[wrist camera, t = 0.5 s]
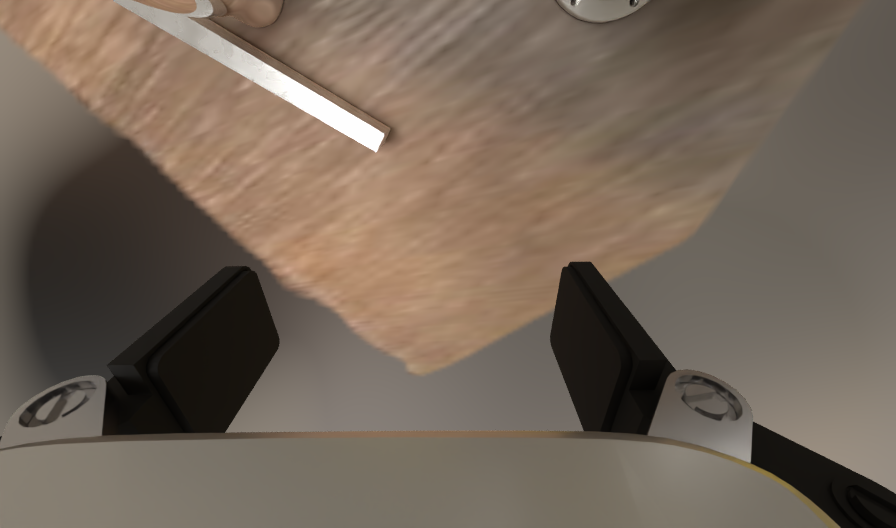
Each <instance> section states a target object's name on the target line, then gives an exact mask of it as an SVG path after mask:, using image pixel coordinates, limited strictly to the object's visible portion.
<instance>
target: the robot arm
mask: <svg viewBox="0 0 896 528" xmlns="http://www.w3.org/2000/svg"><path fill="white" fill-rule="evenodd" d="M556 1H557V2H558V3H559V5H560V6H561V7H562V8H563V9H564V10H565V11H567V12H568V13H569V14H570V15H572V16H574V17H576V18H578V19H580V20H583V21H587V22H595V23H604V22H608V21H613V20H617V19H619V18H622V17H625V16H627V15H629V14H631V13H633V12H635V11H637V10H638V9H640V8H641V7H642V6H643V5H645V4H646V3H647V2H648V1H650V0H631V1H632V5H631V6H630V5H629V1H630V0H574V1H575V3H574V5H573V6H572V5H571V3H570V2H571V0H556ZM550 342H551V346H552V349H553V352H554V354H555V357H556V360H557V362H558V365H559V367H560V370H561V372H562V375H563V378H564V380H565V383H566V385H567V388H568V391H569V393H570V396H571V399H572V401H573V404H574V406H575V409H576V412H577V414H578V417H579V419H580V422H581V425H582V427H583V430H584V431H334V432H331V431H328V432H247V433H246V432H241V433H225V432H226V430H227V429H228V427H229V425H230V424H231V422H232V421H233V419H234V418H235V416H236V414H237V413H238V411H239V410H240V408H241V406H242V405H243V403H244V402H245V400H246V398H247V397H248V395H249V394H250V392H251V391H252V389H253V388H254V386H255V384H256V383H257V381H258V380H259V378H260V377H261V375H262V373H263V372H264V370H265V369H266V367H267V366H268V364H269V362H270V361H271V359H272V357H273V356H274V354H275V353H276V351H277V350H278V347H279V336H278V333H277V330H276V328H275V325H274V322H273V319H272V316H271V313H270V310H269V307H268V304H267V302H266V299H265V296H264V293H263V290H262V287H261V285H260V282H259V279H258V276H257V274H256V273H255V271H251V269H250V268H249V267H247V266H228V267H224V268H223V269H222V270H220V271H219V272H218V273H217V274H216V275H214V276H213V277H212V278H211V279H210V280H208V281H207V282H206V283H205V284H204V285H202V286H201V287H200V288H199V289H198V290H196V291H195V292H194V293H193V294H192V295H190V296H189V297H188V298H187V299H186V300H184V301H183V302H182V303H181V304H180V305H178V306H177V307H176V308H175V309H174V310H172V311H171V312H170V313H169V314H168V315H166V316H165V317H164V318H163V319H162V320H161V321H159V322H158V323H157V324H156V325H154V326H153V327H152V328H151V329H150V330H148V331H147V332H146V333H145V334H144V335H142V336H141V337H140V338H139V339H138V340H136V341H135V342H134V343H133V344H132V345H131V346H129V347H128V348H127V349H126V350H125V351H123V352H122V353H121V354H120V355H119V356H117V357H116V358H115V359H114V360H112V361H111V362H110V363H109V364H108V365H107V367H108V368H109V369H110V371H111V372H112V374H113V375H114V377H113V378H111V379H110V380H109V381H108V382H107V381H106V380H105V379H104V378H102V377H100V376H93V375H89V376H83V377H77V378H74V379H71V380H68V381H65V382H62V383H60V384H58V385H55V386H53V387H50V388H48V389H47V390H45V391H43V392H42V393H39V394H38V395H36V396H34V397H33V398H32V399H30V400H29V401H27V402H26V403H24V404H23V405H22V406H21V407H20V408H19V409H18V410H17V411H16V412H15V413H14V414H13V415H12V416H11V418H10V419H9V421H8V422H7V425H6V428H5V430H4V433H3V435H2V436H1V437H0V528H896V494H895V493H894V492H892V491H890V490H888V489H887V488H885V487H883V486H881V485H879V484H878V483H876V482H874V481H872V480H870V479H868V478H866V477H864V476H862V475H860V474H858V473H856V472H854V471H852V470H850V469H848V468H846V467H844V466H842V465H840V464H838V463H836V462H834V461H832V460H830V459H828V458H826V457H824V456H822V455H820V454H818V453H816V452H813V451H811V450H809V449H808V448H805V447H803V446H801V445H799V444H797V443H795V442H793V441H791V440H789V439H787V438H785V437H783V436H781V435H779V434H777V433H775V432H773V431H771V430H769V429H767V428H765V427H763V426H761V425H759V424H757V423H755V422H753V415H752V410H751V407H750V405H749V404H748V403H747V401H746V399H745V398H744V397H743V396H742V395H741V394H740V393H739V392H738V391H737V390H736V389H734V388H733V387H731V386H730V385H729V384H727V383H726V382H724V381H722V380H720V379H718V378H716V377H714V376H712V375H709V374H706V373H703V372H700V371H695V370H677V371H676V370H675V368H674V367H673V366H672V365H671V363H670V362H669V361H668V359H667V358H666V357H665V356H664V354H663V353H662V352H661V350H660V349H659V348H658V347H657V345H656V344H655V343H654V342H653V340H652V339H651V338H650V336H649V335H648V334H647V333H646V331H645V330H644V329H643V327H642V326H641V325H640V324H639V323H638V321H637V320H636V319H635V317H634V316H633V315H632V314H631V312H630V311H629V310H628V308H627V307H626V306H625V305H624V303H623V302H622V301H621V300H620V298H619V297H618V296H617V295H616V293H615V292H614V291H613V290H612V288H611V287H610V286H609V284H608V283H607V282H606V280H605V279H604V278H603V277H602V275H601V274H600V273H599V271H598V270H597V269H596V268H595V266H594V265H593V264H592V263H591V262H570V263H569V265H568V267H563V269H562V272H561V278H560V283H559V289H558V295H557V300H556V306H555V312H554V318H553V323H552V329H551V335H550Z"/></svg>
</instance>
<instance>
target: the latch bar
mask: <svg viewBox="0 0 896 528" xmlns="http://www.w3.org/2000/svg"><path fill="white" fill-rule="evenodd" d="M113 1H114V2H116V3H118V4H119V5H121V6H123V7H125V8H126V9H128V10H130V11H131V12H133V13H135V14H137V15H138V16H140V17H142V18H144V19H145V20H147V21H149V22H151V23H152V24H154V25H156V26H158V27H159V28H161V29H163V30H165V31H166V32H168V33H170V34H171V35H173V36H175V37H177V38H178V39H180V40H182V41H184V42H185V43H187V44H189V45H191V46H192V47H194V48H196V49H198V50H199V51H201V52H203V53H205V54H206V55H208V56H210V57H212V58H213V59H215V60H217V61H218V62H220V63H222V64H224V65H225V66H227V67H229V68H231V69H232V70H234V71H236V72H238V73H239V74H241V75H243V76H245V77H246V78H248V79H250V80H252V81H253V82H255V83H257V84H258V85H260V86H262V87H264V88H265V89H267V90H269V91H271V92H272V93H274V94H276V95H278V96H279V97H281V98H283V99H285V100H286V101H288V102H290V103H292V104H293V105H295V106H297V107H298V108H300V109H302V110H304V111H305V112H307V113H309V114H311V115H312V116H314V117H316V118H318V119H319V120H321V121H323V122H325V123H326V124H328V125H330V126H332V127H333V128H335V129H337V130H339V131H340V132H342V133H344V134H345V135H347V136H349V137H351V138H352V139H354V140H356V141H358V142H359V143H361V144H363V145H365V146H366V147H368V148H370V149H372V150H373V151H375V152H377V151H378V150H379V149H380V148H381V147H382V146H383V145H384V142H385V140H386V138H387V136H388V134H389V132H390V130H391V128H389V127H388V126H386V125H384V124H383V123H381V122H379V121H378V120H376V119H374V118H373V117H371V116H369V115H368V114H366V113H364V112H363V111H361V110H359V109H358V108H356V107H354V106H353V105H351V104H349V103H348V102H346V101H344V100H343V99H341V98H339V97H338V96H336V95H334V94H333V93H331V92H329V91H328V90H326V89H324V88H323V87H321V86H319V85H318V84H316V83H314V82H313V81H311V80H309V79H308V78H306V77H304V76H303V75H301V74H299V73H298V72H296V71H294V70H293V69H291V68H289V67H288V66H286V65H284V64H283V63H281V62H279V61H278V60H276V59H274V58H273V57H271V56H269V55H268V54H266V53H264V52H263V51H261V50H259V49H258V48H256V47H254V46H253V45H251V44H249V43H248V42H246V41H244V40H243V39H241V38H239V37H238V36H236V35H234V34H233V33H231V32H229V31H228V30H226V29H224V28H223V27H221V26H219V25H218V24H216V23H214V22H213V21H211V20H209V19H208V18H195V17H188V16H182V15H177V14H173V13H169V12H166V11H162V10H158V9H155V8H152V7H149V6H147V5H144V4H141V3H138V2H135V1H133V0H113Z"/></svg>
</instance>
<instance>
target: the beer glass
mask: <svg viewBox="0 0 896 528" xmlns="http://www.w3.org/2000/svg"><path fill="white" fill-rule="evenodd" d="M133 1H135V2H138V3H141V4H144V5H147V6H149V7H152V8H155V9H158V10H162V11H166V12H169V13H173V14H177V15H182V16H188V17H195V18H214V17H225V16H233V17H234V18H236V19H237V20H239V21H240V22H242V23H244V24H246V25H249V26H252V27H265V26H268V25H270V24H272V23H273V22H274V21H275V20H276V19H277V18H278V16H279V15H280V12H281V10H282V5H283V0H133Z"/></svg>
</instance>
